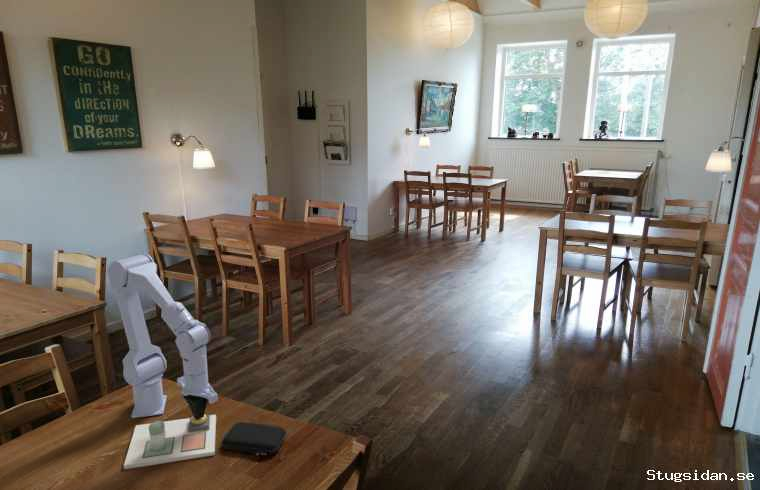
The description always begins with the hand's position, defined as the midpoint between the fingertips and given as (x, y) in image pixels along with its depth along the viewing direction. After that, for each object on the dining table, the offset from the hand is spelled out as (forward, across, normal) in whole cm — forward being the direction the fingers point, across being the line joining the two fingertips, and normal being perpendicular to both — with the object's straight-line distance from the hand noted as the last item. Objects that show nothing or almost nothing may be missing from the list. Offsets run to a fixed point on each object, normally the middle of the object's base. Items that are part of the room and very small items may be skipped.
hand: (199, 417), depth 130 cm
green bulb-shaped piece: (+2, 0, -12) cm, 12 cm away
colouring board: (+3, -1, -7) cm, 8 cm away
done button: (+2, 0, 0) cm, 2 cm away
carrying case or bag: (+4, +16, +4) cm, 17 cm away
